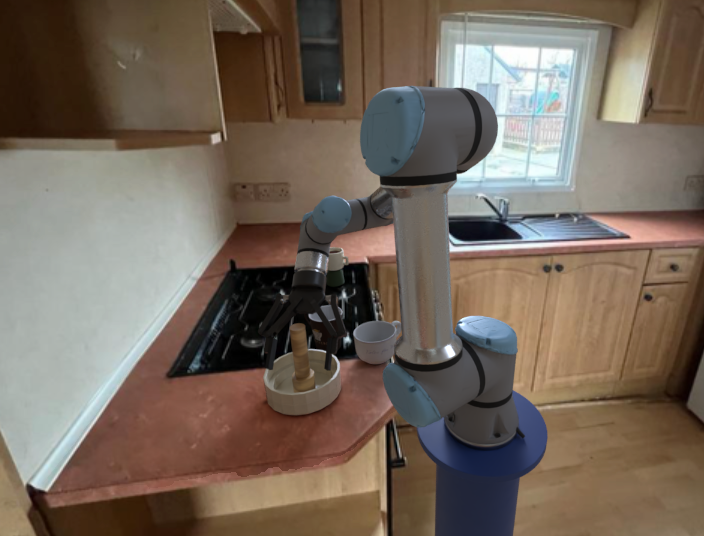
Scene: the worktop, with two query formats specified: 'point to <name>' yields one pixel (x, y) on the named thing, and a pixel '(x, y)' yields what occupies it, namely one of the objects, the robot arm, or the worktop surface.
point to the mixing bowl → (302, 402)
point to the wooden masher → (301, 360)
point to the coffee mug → (323, 327)
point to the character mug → (336, 267)
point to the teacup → (376, 340)
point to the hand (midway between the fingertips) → (298, 369)
